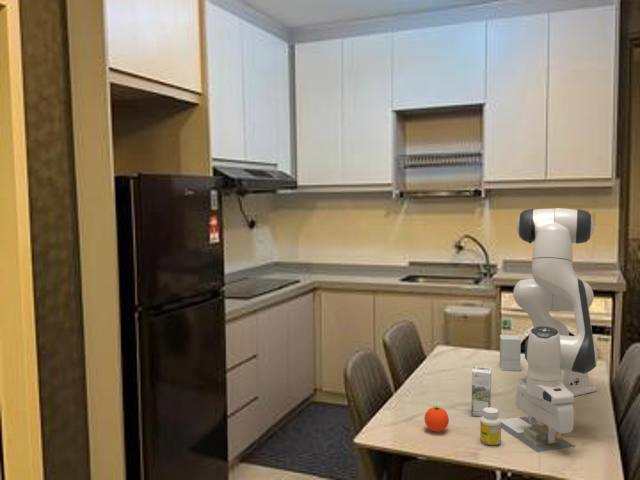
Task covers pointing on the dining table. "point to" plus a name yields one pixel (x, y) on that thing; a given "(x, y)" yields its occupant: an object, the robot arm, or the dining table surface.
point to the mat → (517, 430)
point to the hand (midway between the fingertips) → (542, 436)
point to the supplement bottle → (490, 428)
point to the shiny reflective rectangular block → (539, 435)
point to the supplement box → (510, 352)
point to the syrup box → (480, 390)
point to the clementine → (436, 419)
